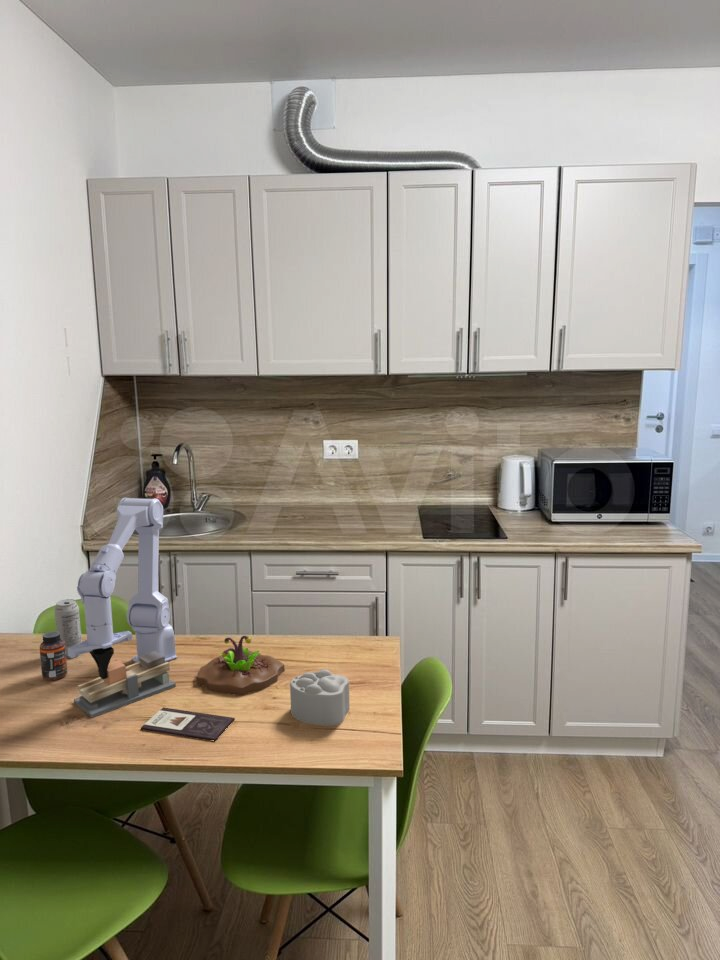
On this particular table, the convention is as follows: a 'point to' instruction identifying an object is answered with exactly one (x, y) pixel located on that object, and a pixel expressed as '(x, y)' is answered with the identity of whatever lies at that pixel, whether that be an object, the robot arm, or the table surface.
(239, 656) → the plant
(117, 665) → the block
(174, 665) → the table surface
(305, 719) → the lumpy-topped squat cylinder
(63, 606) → the energy drink can
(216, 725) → the chocolate bar
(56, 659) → the supplement bottle
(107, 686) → the beam
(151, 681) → the stand
